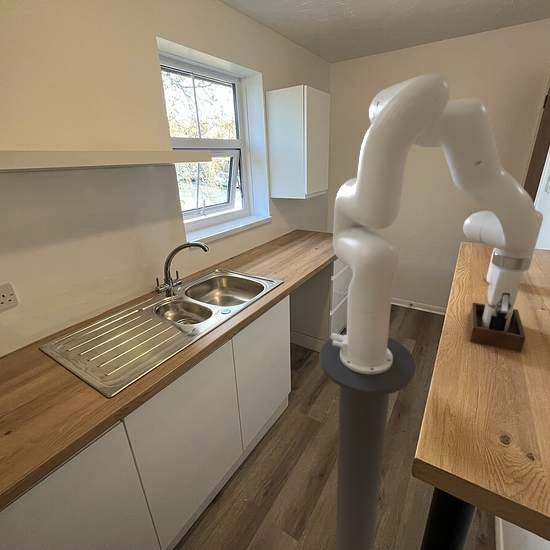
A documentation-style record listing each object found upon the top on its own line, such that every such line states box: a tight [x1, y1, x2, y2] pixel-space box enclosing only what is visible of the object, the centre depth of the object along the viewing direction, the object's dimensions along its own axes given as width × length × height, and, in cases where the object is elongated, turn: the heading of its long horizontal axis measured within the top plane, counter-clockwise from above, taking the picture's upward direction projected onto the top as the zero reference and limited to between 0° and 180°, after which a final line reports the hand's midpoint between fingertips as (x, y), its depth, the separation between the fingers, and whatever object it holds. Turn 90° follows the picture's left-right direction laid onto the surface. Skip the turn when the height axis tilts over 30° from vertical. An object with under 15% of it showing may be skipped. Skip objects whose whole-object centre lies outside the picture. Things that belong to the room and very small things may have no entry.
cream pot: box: [480, 301, 515, 332], centre depth 80 cm, size 6×6×7 cm
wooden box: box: [469, 302, 526, 353], centre depth 81 cm, size 11×15×4 cm
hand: (495, 322), depth 80 cm, fingers closed on cream pot, 6 cm apart
